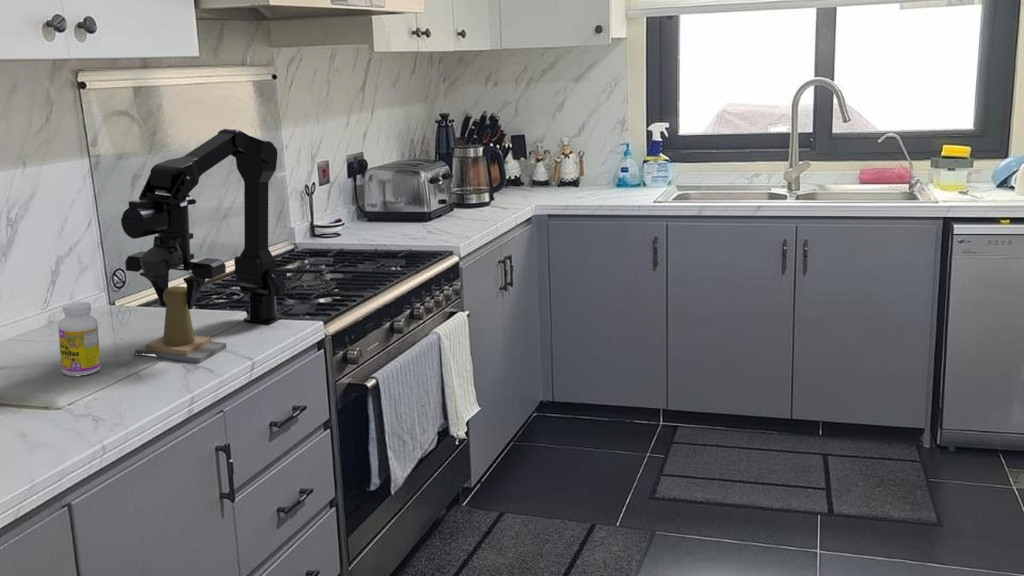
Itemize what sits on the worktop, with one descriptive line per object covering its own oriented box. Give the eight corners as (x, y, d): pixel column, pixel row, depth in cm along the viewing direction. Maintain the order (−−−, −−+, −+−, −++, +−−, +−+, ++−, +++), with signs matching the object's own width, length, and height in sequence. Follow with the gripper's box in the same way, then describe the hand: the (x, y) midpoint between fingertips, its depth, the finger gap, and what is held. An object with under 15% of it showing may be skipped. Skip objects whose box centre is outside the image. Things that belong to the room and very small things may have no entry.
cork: (165, 347, 191) (162, 292, 188) (160, 338, 196) (157, 285, 193) (197, 343, 193) (195, 289, 191) (191, 335, 199) (189, 282, 196)
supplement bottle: (53, 373, 180) (48, 305, 177) (84, 363, 186) (79, 297, 183) (78, 380, 177) (73, 311, 174) (108, 369, 183) (104, 303, 180)
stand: (164, 340, 201) (164, 330, 201) (226, 347, 198) (226, 338, 198) (135, 354, 192) (134, 345, 191) (199, 363, 189) (199, 353, 188)
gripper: (104, 233, 183) (110, 313, 187) (194, 242, 179) (198, 323, 183) (140, 222, 194) (144, 299, 198) (225, 230, 190) (228, 308, 194)
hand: (177, 307), depth 193 cm, fingers open, 5 cm apart
